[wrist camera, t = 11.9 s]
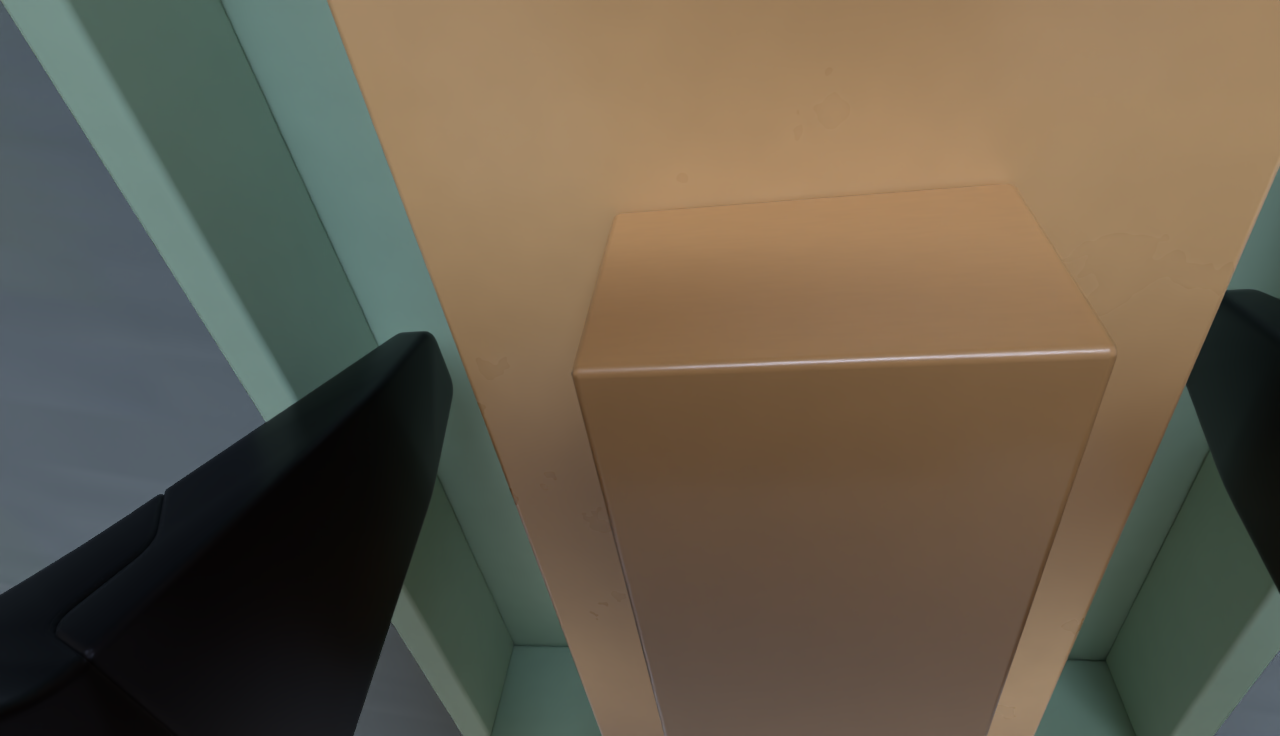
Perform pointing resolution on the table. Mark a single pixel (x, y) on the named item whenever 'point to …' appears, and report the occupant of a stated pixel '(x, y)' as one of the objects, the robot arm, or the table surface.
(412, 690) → the table surface
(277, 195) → the tray
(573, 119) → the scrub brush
